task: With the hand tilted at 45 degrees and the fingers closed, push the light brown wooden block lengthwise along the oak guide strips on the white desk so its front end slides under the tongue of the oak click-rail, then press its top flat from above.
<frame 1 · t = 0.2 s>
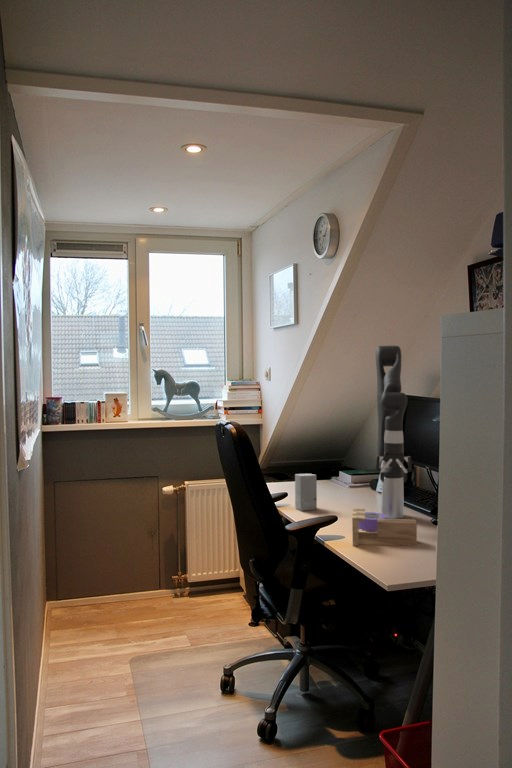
hand: (393, 481, 256), 18 cm above the table, tool pointing down, fingers open, 8 cm apart
skincare box: (306, 509, 287), on the table
light brown wooden block: (396, 542, 234), resting in oak click-rail
oak click-rail: (355, 540, 236), on the table
tape roll: (371, 528, 254), on the table
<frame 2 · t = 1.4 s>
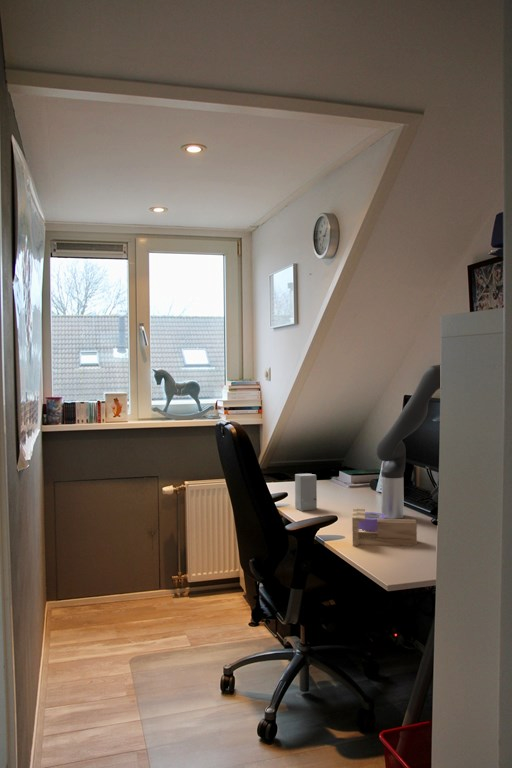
hand: (433, 498, 231), 17 cm above the table, tool tilted 45°, fingers open, 8 cm apart
nothing on the table moved.
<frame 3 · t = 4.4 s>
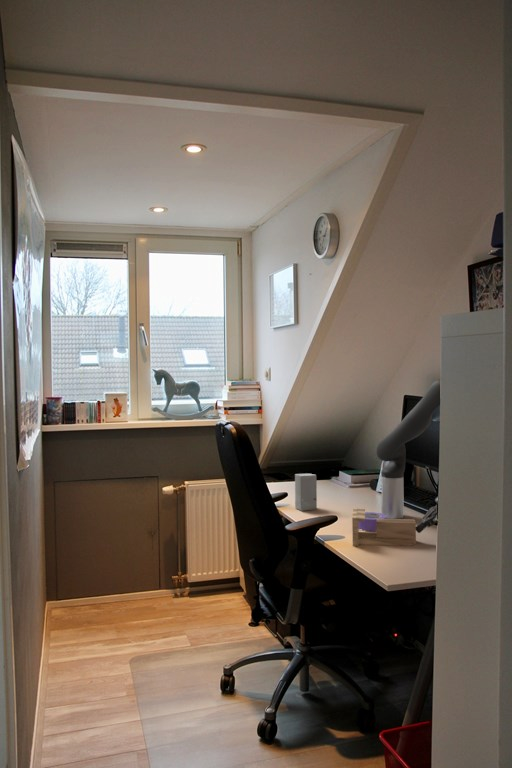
hand: (416, 530, 233), 4 cm above the table, tool tilted 45°, fingers closed
light brown wooden block: (395, 542, 234), resting in oak click-rail, touching gripper
everything else where it was.
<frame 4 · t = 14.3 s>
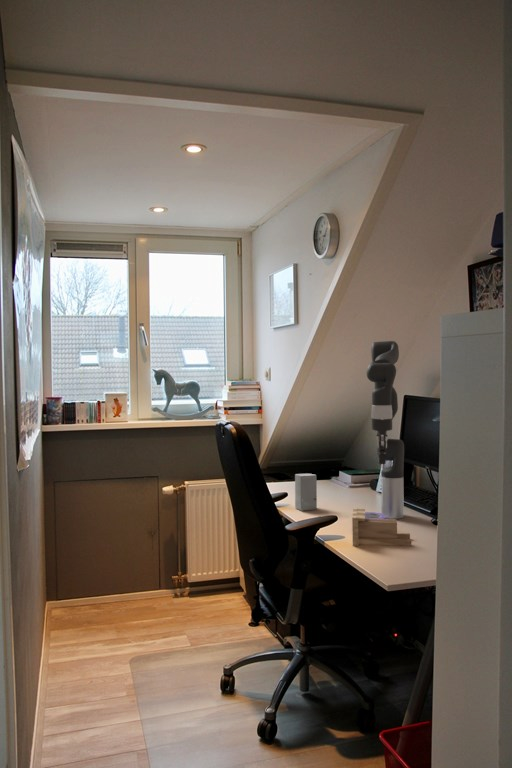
hand: (382, 463, 233), 29 cm above the table, tool pointing down, fingers closed
light brown wooden block: (377, 541, 235), resting in oak click-rail
everything else where it was.
at the end: light brown wooden block inside the target area (0.5 cm from its centre), resting in oak click-rail; light brown wooden block tilted 0°; light brown wooden block moved 7.0 cm from its start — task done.
